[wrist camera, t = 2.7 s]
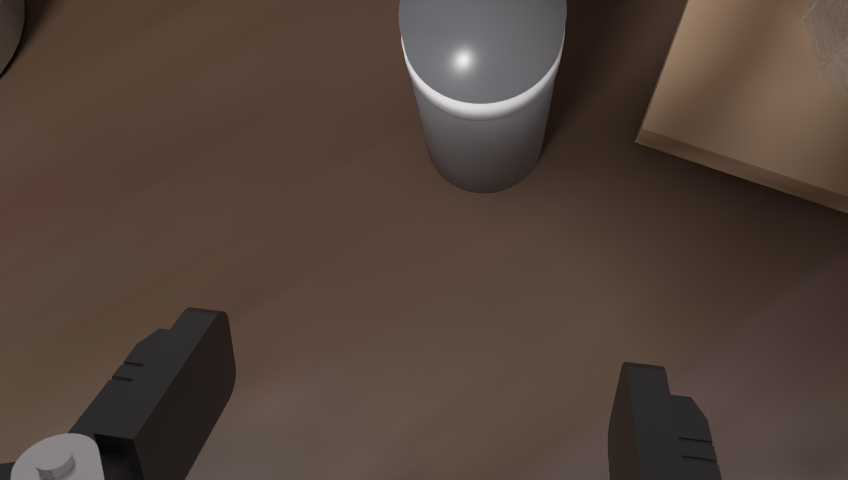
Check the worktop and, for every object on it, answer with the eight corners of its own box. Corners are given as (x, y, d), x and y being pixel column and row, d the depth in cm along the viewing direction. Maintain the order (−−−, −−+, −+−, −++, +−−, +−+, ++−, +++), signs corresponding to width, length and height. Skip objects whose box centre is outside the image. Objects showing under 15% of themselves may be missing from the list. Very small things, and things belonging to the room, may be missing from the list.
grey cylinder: (408, 170, 31) (370, 57, 21) (451, 69, 32) (434, -83, 22) (519, 210, 30) (533, 112, 20) (560, 105, 31) (592, -37, 21)
